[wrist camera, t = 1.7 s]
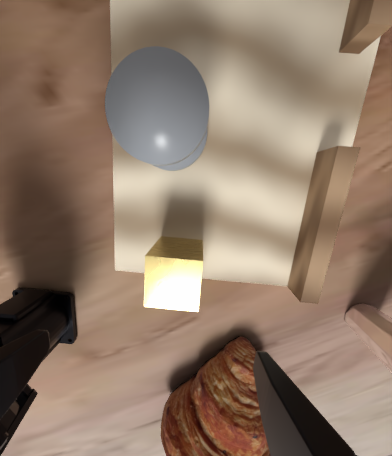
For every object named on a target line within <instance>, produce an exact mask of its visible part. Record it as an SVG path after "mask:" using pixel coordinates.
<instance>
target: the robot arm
mask: <svg viewBox="0 0 392 456" xmlns="http://www.w3.org/2000/svg"><path fill="white" fill-rule="evenodd" d="M12 294H13V297H12V298H10V299H9V300H7V301H5V302H4V303H2V304H0V456H1V454H2V452H3V451H4V449H5V448H6V446H7V444H8V443H9V441H10V439H11V438H12V436H13V434H14V433H15V431H16V429H17V428H18V426H19V424H20V422H21V421H22V419H23V417H24V416H25V414H26V412H27V411H28V409H29V407H30V406H31V404H32V402H33V401H34V399H35V397H36V396H37V394H38V393H37V392H36V391H35V390H34V389H31V387H30V386H29V385H28V384H27V383H28V382H29V380H30V379H31V377H32V376H33V374H34V373H35V371H36V369H37V368H38V366H39V365H40V363H41V362H42V361H43V360H44V359H45V358H46V357H47V356H48V355H49V353H50V352H51V351H52V350H53V349H54V348H55V347H56V346H57V345H58V344H59V343H66V344H72V343H74V342H75V340H76V326H75V313H74V300H73V295H72V294H71V293H69V292H58V291H50V290H41V289H30V288H28V289H27V288H17V289H15V290H14V291H13V292H12ZM67 297H68V298H67ZM253 373H254V379H255V385H256V391H257V397H258V403H259V409H260V414H261V420H262V424H263V428H264V432H265V436H266V440H267V444H268V448H269V452H270V455H271V456H357V455H355V453H354V451H353V450H352V449H351V448H350V447H349V445H348V444H347V443H346V442H345V441H344V440H343V439H342V437H341V436H340V435H339V434H338V433H337V432H336V431H335V429H334V428H333V427H332V426H331V425H330V424H329V423H328V421H327V420H326V419H325V418H324V417H323V416H322V415H321V413H320V412H319V411H318V410H317V409H316V408H315V407H314V405H313V404H312V403H311V402H310V401H309V400H308V399H307V397H306V396H305V395H304V394H303V393H302V392H301V391H300V389H299V388H298V387H297V386H296V385H295V384H294V383H293V382H292V380H291V379H290V378H289V377H288V376H287V375H286V374H285V372H284V371H283V370H282V369H281V368H280V367H279V366H278V364H277V363H276V362H275V361H274V360H273V359H272V358H271V356H270V355H269V354H268V353H267V352H264V351H257V352H256V354H255V359H254V365H253Z"/></svg>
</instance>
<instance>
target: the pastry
mask: <svg viewBox="0 0 392 456" xmlns="http://www.w3.org/2000/svg"><path fill="white" fill-rule="evenodd" d="M255 354H256V351H255V348H254V347H253V346H252V344H251V342H250V341H249V340H248V339H246V338H244V337H238V338H237V339H234V340H232V341H230V342H229V343H228V344H227V345H225V347H224V348H223V349H221V351H220V352H219V353H218V354H217V355H216V356H214V357H212V358H211V359H210V360H208V361H207V362H206V363H205V364H204V365H203V366H202V367H201V368H200V369H199V371H198V373H197V374H194V376H193V377H192V378H191V379H190V380H189V381H187V382H185V383H183V384H182V385H180V386H179V387H178V388H177V389H176V390H175V391H174V392H173V393H171V394H170V396H169V399H168V400H167V402H166V404H165V407H164V411H163V417H162V423H161V439H162V444H163V447H164V450H165V453H166V456H271V455H270V452H269V448H268V444H267V440H266V436H265V432H264V428H263V424H262V420H261V414H260V409H259V403H258V397H257V391H256V385H255V379H254V373H253V365H254V359H255Z"/></svg>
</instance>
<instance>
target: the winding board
mask: <svg viewBox="0 0 392 456" xmlns="http://www.w3.org/2000/svg"><path fill="white" fill-rule="evenodd" d="M110 25H111V75H112V73H113V72H114V70H115V68H116V67H117V66H118V64H119V63H120V62H121V61H122V60H123V59H124V58H125V57H127V56H128V55H129V54H131V53H133V52H134V51H136V50H139V49H142V48H145V47H151V46H159V47H166V48H169V49H172V50H175V51H177V52H179V53H180V54H182V55H183V56H185V57H186V58H187V59H188V60H190V61H191V62H192V63H193V65H194V66H195V67H196V68H197V70H198V71H199V73H200V74H201V76H202V78H203V80H204V82H205V85H206V88H207V92H208V97H209V120H208V126H207V140H206V144H205V147H204V150H203V152H202V154H201V155H200V157H199V158H198V159H197V160H196V161H195V162H194V163H193V164H192V165H190V166H189V167H187V168H185V169H182V170H178V171H167V170H163V169H160V168H158V167H155V166H153V165H151V164H148V163H145V162H143V161H140V160H138V159H136V158H135V157H133V156H131V155H130V154H129V153H127V152H126V151H125V150H124V149H123V148H122V147H121V146H120V145H119V143H118V142H117V141H116V139H115V137H114V136H113V188H114V242H115V270H117V271H128V272H138V273H145V255H146V254H147V253H148V251H149V250H150V249H151V248H152V247H153V245H154V244H155V243H156V242H157V241H158V239H159V238H160V237H161V236H166V237H177V238H188V239H199V240H203V269H202V279H213V280H224V281H234V282H245V283H256V284H266V285H277V286H287V287H288V288H289V289H290V290H291V291H292V293H293V294H294V295H295V296H296V297H297V299H298V300H299V301H300V302H305V303H315V304H318V302H319V299H320V295H321V291H322V287H323V284H324V280H325V276H326V273H327V269H328V265H329V261H330V258H331V254H332V250H333V247H334V243H335V239H336V235H337V232H338V228H339V224H340V220H341V217H342V213H343V209H344V206H345V202H346V198H347V194H348V191H349V187H350V183H351V180H352V176H353V172H354V168H355V165H356V161H357V157H358V154H359V150H360V147H352V145H353V141H354V138H355V134H356V130H357V126H358V122H359V118H360V114H361V111H362V107H363V103H364V99H365V95H366V91H367V87H368V84H369V80H370V76H371V72H372V68H373V64H374V60H375V57H376V53H377V49H378V45H379V41H380V37H381V35H382V34H383V33H384V32H386V31H387V30H388V29H389V28H390V27H392V0H110Z"/></svg>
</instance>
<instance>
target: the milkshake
mask: <svg viewBox="0 0 392 456" xmlns="http://www.w3.org/2000/svg"><path fill="white" fill-rule="evenodd" d="M345 322H346V323H347V325H348V326H349V327H350V328H351V329H352V330H353V331H354V332H355V333H356V335H357V336H358V337H359V338H360V339H361V340H362V341H363V342H364V343H365V344H366V345H367V347H368V348H369V349H370V350H371V351H372V352H373V353H374V354H375V355H376V356H377V357H378V359H379V360H380V361H381V362H382V363H383V364H384V365H385V366H386V368H387V369H388V370H389V371H390V372H391V374H392V318H391V317H389V316H388V315H386V314H385V313H383V312H381V311H380V310H378V309H376V308H375V307H373V306H371V305H368V304H362V303H360V304H358V305H355V306H352V307H351V308H350V309H349V310H348V311H347V313H346V314H345Z"/></svg>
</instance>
